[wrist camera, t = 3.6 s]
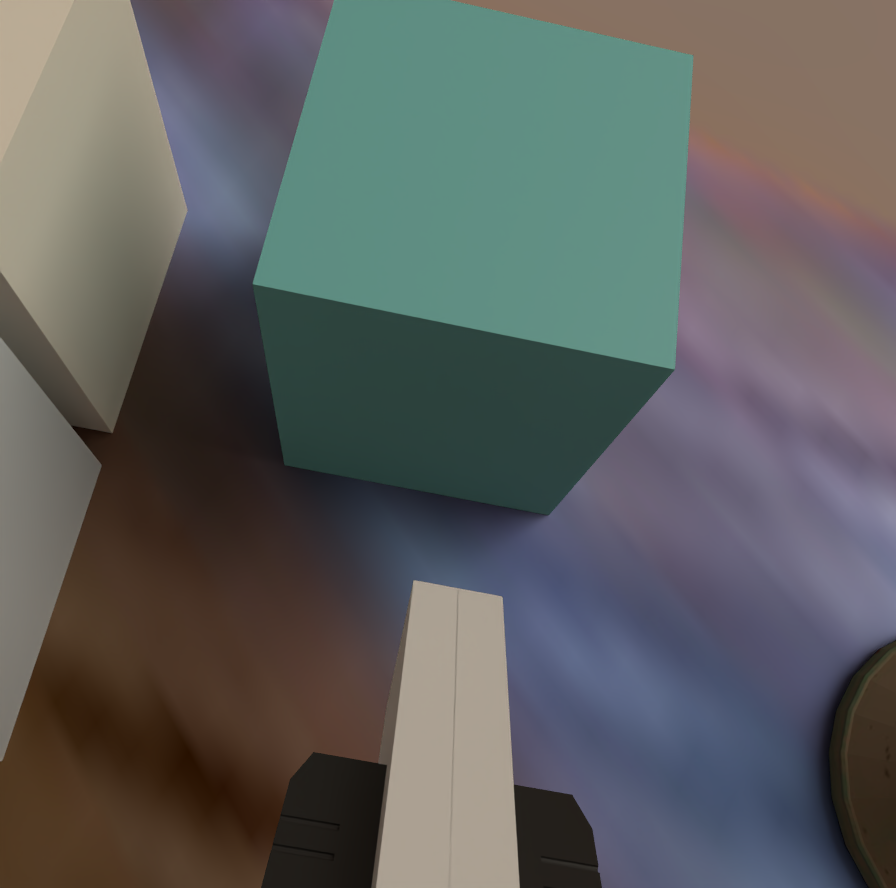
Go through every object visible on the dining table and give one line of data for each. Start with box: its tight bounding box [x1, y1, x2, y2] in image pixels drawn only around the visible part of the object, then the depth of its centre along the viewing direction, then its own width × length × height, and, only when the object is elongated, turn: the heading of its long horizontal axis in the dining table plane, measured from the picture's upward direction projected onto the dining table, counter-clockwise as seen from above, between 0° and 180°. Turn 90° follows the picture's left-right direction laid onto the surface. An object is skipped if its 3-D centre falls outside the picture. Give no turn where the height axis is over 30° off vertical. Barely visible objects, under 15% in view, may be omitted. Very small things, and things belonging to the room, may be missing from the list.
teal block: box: [253, 0, 693, 515], centre depth 21 cm, size 8×8×10 cm
